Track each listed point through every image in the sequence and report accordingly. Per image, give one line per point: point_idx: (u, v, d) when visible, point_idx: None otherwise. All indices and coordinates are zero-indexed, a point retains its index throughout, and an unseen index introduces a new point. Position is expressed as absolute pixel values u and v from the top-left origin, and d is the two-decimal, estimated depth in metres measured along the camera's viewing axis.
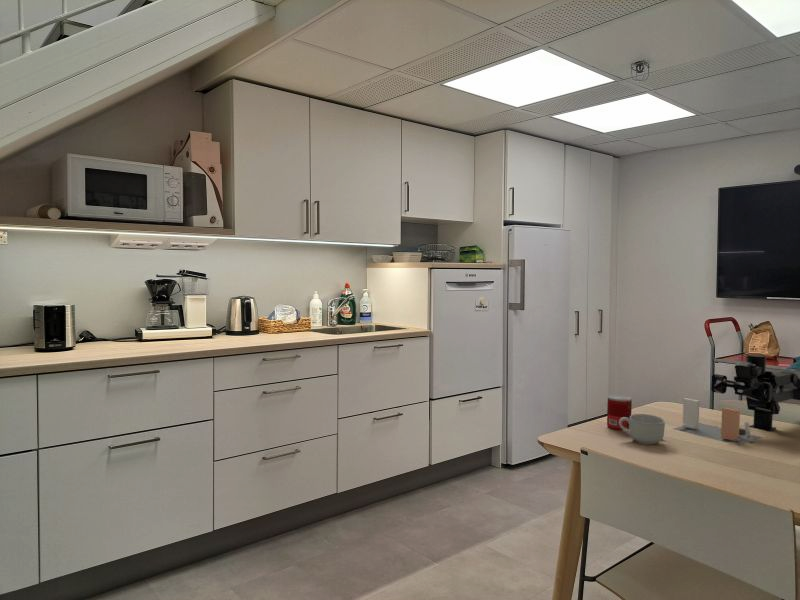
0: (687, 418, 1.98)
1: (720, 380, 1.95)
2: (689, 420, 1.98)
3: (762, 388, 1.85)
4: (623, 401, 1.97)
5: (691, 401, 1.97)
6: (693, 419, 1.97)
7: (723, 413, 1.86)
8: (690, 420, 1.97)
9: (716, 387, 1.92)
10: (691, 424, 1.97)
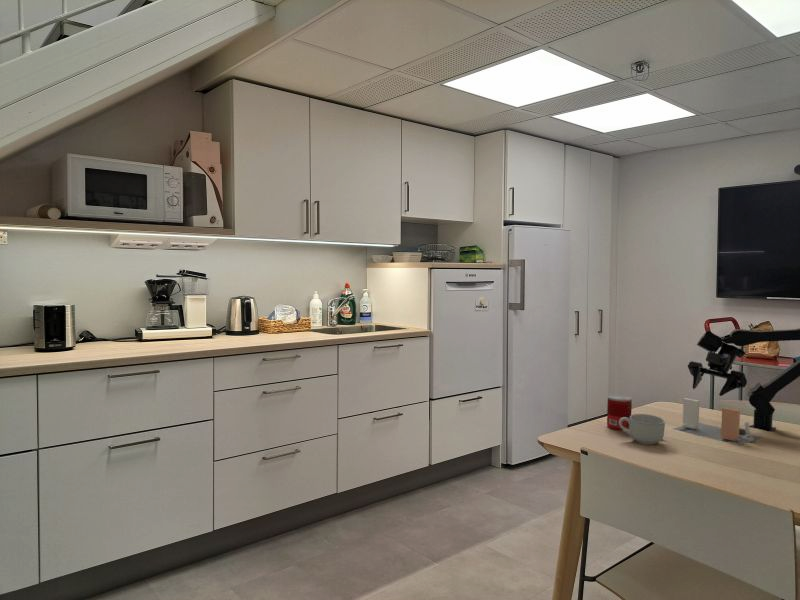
0: (687, 418, 1.98)
1: (696, 373, 2.06)
2: (689, 420, 1.98)
3: (735, 380, 1.96)
4: (623, 401, 1.97)
5: (691, 401, 1.97)
6: (693, 419, 1.97)
7: (723, 413, 1.86)
8: (690, 420, 1.97)
9: (695, 386, 2.04)
10: (691, 424, 1.97)
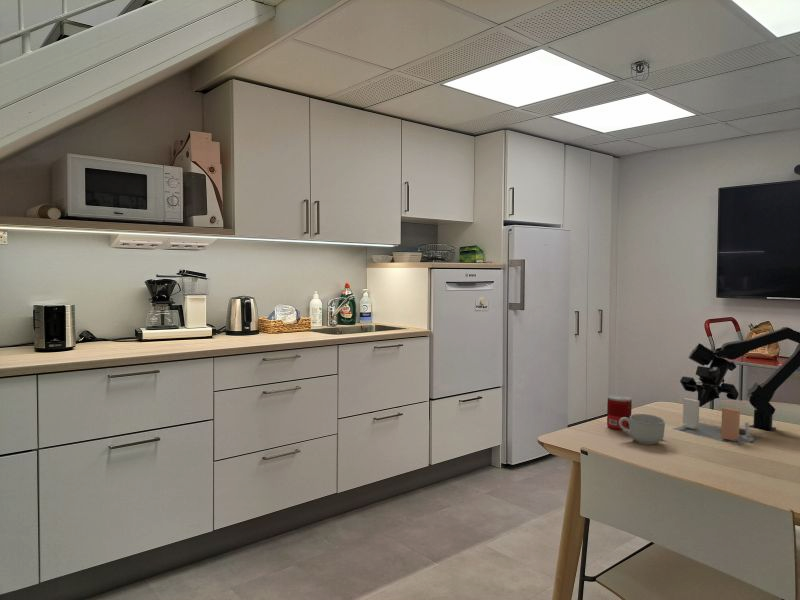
0: (687, 418, 1.98)
1: (700, 390, 2.03)
2: (689, 420, 1.98)
3: (713, 391, 2.00)
4: (623, 401, 1.97)
5: (691, 401, 1.97)
6: (693, 419, 1.97)
7: (723, 413, 1.86)
8: (690, 420, 1.97)
9: None
10: (691, 424, 1.97)
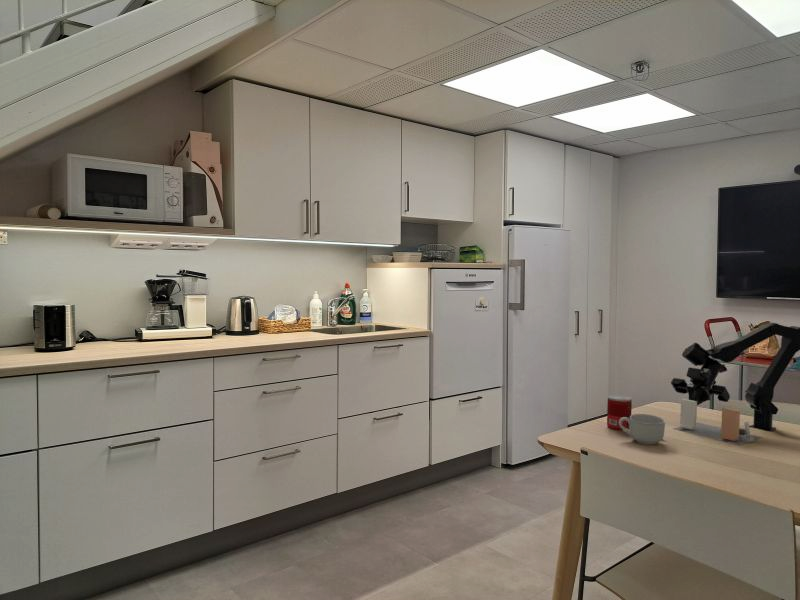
0: (685, 419, 1.98)
1: (691, 392, 2.00)
2: (687, 421, 1.97)
3: (704, 393, 1.97)
4: (623, 401, 1.97)
5: (689, 402, 1.96)
6: (691, 419, 1.96)
7: (723, 413, 1.86)
8: (688, 421, 1.97)
9: None
10: (689, 425, 1.96)
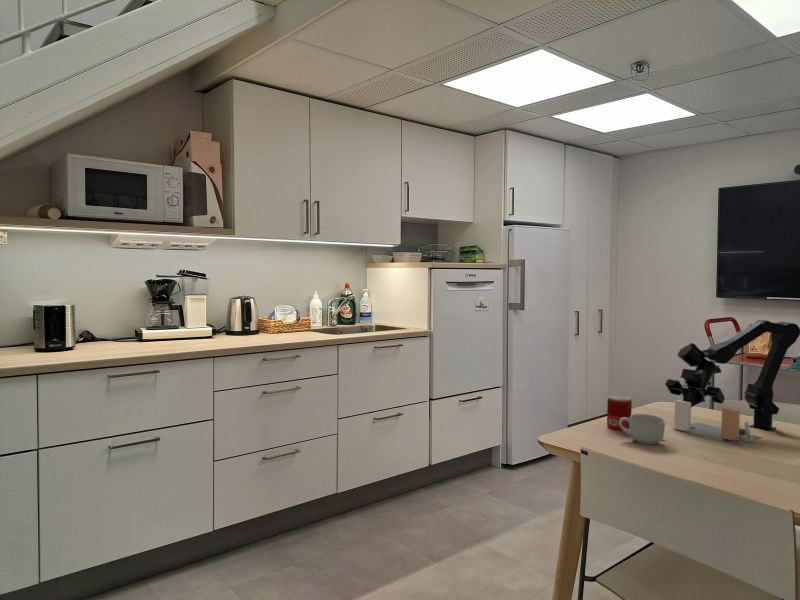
0: (679, 420, 1.95)
1: (686, 393, 1.97)
2: (681, 422, 1.95)
3: (699, 394, 1.95)
4: (623, 401, 1.97)
5: (683, 403, 1.94)
6: (685, 421, 1.94)
7: (723, 413, 1.86)
8: (682, 422, 1.95)
9: None
10: (683, 426, 1.94)
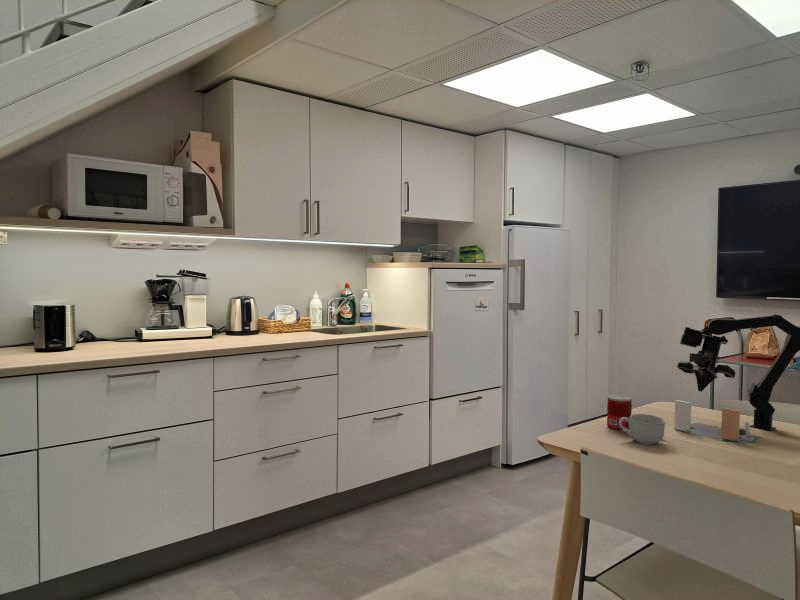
0: (679, 420, 1.95)
1: (698, 374, 2.06)
2: (681, 422, 1.95)
3: (710, 374, 2.03)
4: (623, 401, 1.97)
5: (683, 403, 1.94)
6: (685, 421, 1.94)
7: (723, 413, 1.86)
8: (682, 422, 1.95)
9: None
10: (683, 426, 1.94)
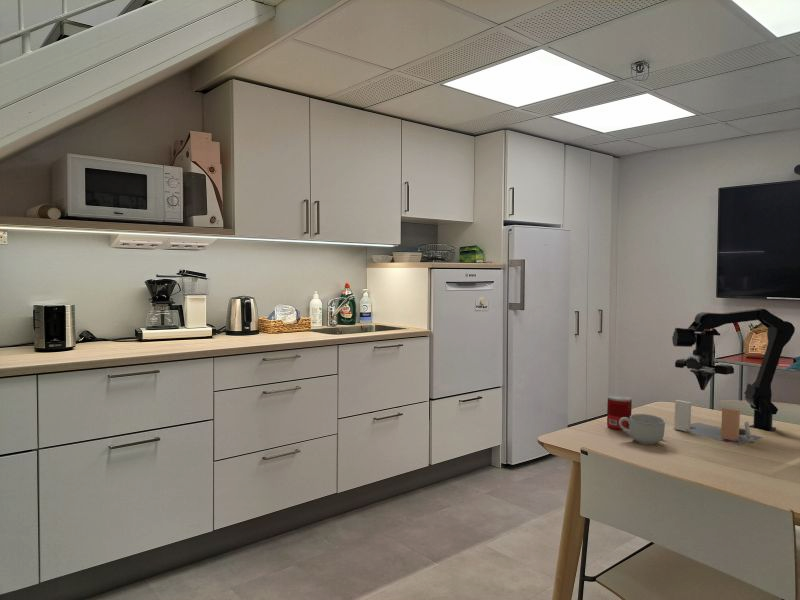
0: (679, 420, 1.95)
1: (697, 374, 2.05)
2: (681, 422, 1.95)
3: (710, 374, 2.02)
4: (623, 401, 1.97)
5: (683, 403, 1.94)
6: (685, 421, 1.94)
7: (723, 413, 1.86)
8: (682, 422, 1.95)
9: None
10: (683, 426, 1.94)
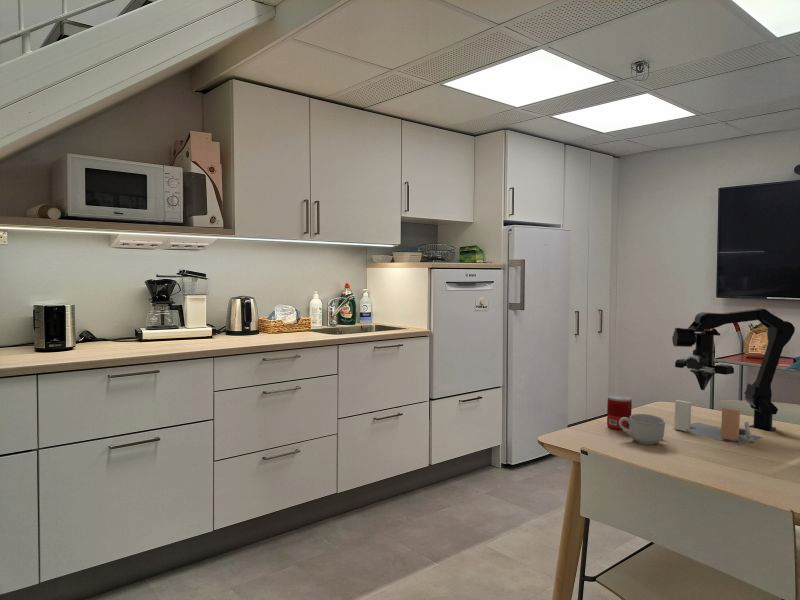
0: (679, 420, 1.95)
1: (697, 374, 2.05)
2: (681, 422, 1.95)
3: (710, 374, 2.02)
4: (623, 401, 1.97)
5: (683, 403, 1.94)
6: (685, 421, 1.94)
7: (723, 413, 1.86)
8: (682, 422, 1.95)
9: None
10: (683, 426, 1.94)
